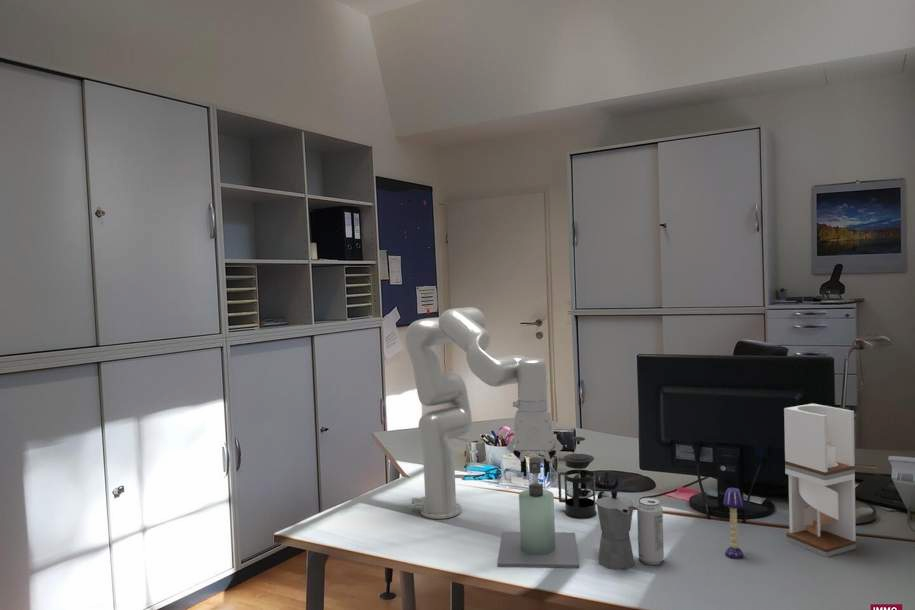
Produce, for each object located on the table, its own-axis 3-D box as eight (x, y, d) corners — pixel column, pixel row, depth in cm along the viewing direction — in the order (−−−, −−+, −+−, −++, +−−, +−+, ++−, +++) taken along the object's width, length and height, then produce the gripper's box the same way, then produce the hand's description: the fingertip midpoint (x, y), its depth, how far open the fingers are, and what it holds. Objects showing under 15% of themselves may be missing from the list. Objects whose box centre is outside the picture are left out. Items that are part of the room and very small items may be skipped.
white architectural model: (786, 540, 171) (784, 408, 169) (815, 532, 175) (812, 403, 173) (826, 557, 160) (824, 416, 159) (855, 548, 165) (853, 410, 163)
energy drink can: (644, 553, 167) (642, 495, 166) (667, 559, 163) (666, 499, 162) (634, 561, 162) (632, 502, 161) (658, 567, 158) (656, 507, 158)
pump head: (529, 490, 165) (529, 466, 165) (530, 479, 173) (529, 457, 173) (541, 490, 164) (540, 466, 164) (541, 479, 173) (540, 457, 172)
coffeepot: (646, 570, 157) (644, 496, 156) (610, 576, 155) (608, 501, 154) (617, 545, 172) (615, 478, 172) (584, 550, 170) (581, 482, 169)
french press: (602, 509, 198) (599, 435, 197) (594, 521, 190) (592, 442, 189) (564, 505, 203) (561, 432, 202) (555, 516, 195) (552, 439, 194)
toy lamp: (721, 551, 166) (720, 486, 165) (740, 550, 166) (738, 485, 165) (729, 559, 161) (727, 492, 161) (748, 558, 161) (746, 492, 161)
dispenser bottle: (497, 566, 163) (494, 498, 162) (502, 534, 182) (500, 473, 182) (578, 568, 160) (576, 498, 159) (574, 535, 180) (572, 473, 179)
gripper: (499, 409, 167) (502, 479, 168) (566, 408, 165) (568, 479, 165) (501, 403, 174) (503, 470, 175) (565, 402, 172) (567, 470, 173)
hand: (535, 474), depth 170 cm, fingers open, 4 cm apart
